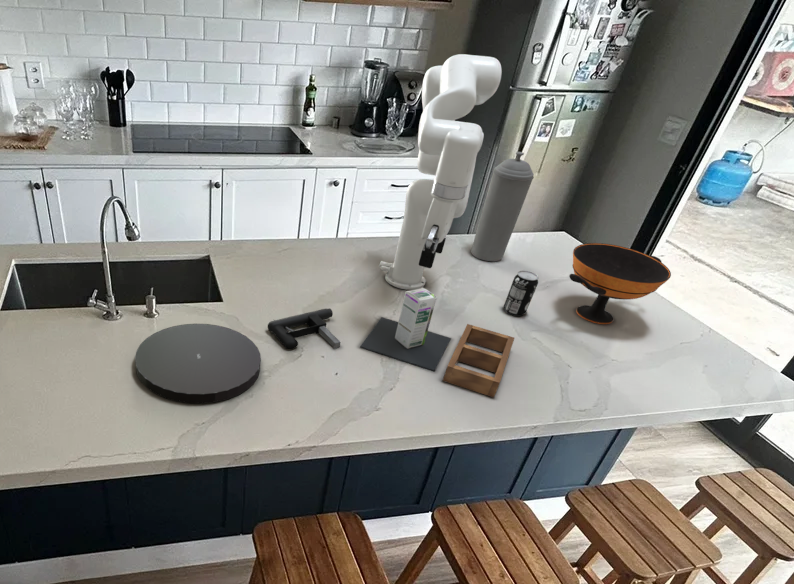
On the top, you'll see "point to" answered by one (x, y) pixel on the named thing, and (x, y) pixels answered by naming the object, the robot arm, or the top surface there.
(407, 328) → the syrup box
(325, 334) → the door handle
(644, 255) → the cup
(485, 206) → the canister
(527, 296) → the beverage can
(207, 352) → the disc
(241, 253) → the top surface
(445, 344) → the mat
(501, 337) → the rack
